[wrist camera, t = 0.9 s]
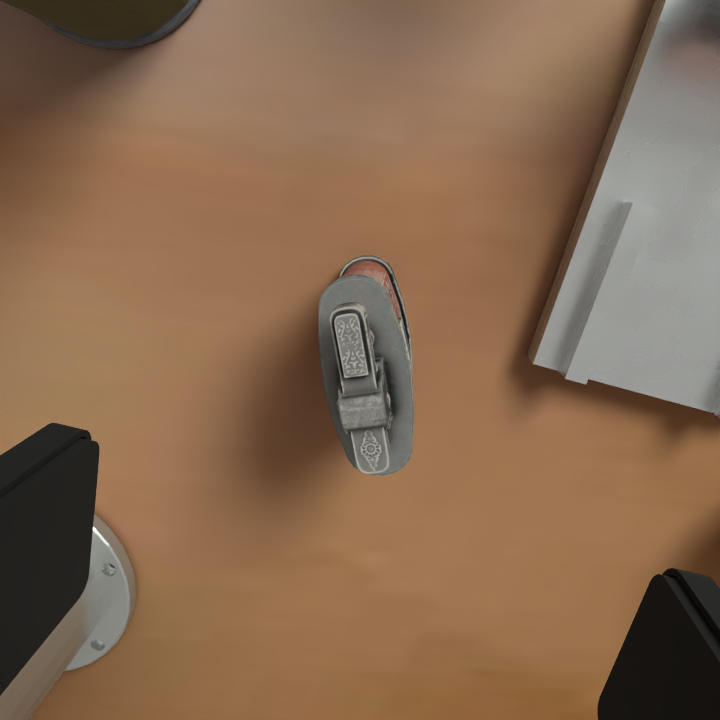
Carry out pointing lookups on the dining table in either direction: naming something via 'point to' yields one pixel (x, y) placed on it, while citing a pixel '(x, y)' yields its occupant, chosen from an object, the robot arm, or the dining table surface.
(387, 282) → the lighter
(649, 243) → the finger rail
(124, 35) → the canister
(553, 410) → the dining table surface
